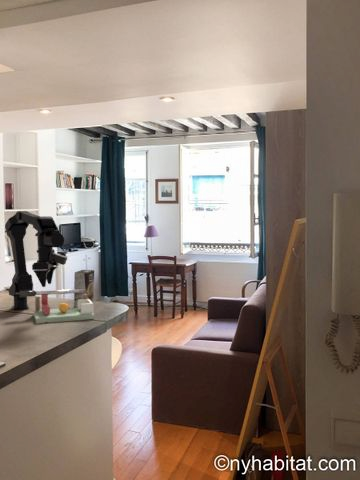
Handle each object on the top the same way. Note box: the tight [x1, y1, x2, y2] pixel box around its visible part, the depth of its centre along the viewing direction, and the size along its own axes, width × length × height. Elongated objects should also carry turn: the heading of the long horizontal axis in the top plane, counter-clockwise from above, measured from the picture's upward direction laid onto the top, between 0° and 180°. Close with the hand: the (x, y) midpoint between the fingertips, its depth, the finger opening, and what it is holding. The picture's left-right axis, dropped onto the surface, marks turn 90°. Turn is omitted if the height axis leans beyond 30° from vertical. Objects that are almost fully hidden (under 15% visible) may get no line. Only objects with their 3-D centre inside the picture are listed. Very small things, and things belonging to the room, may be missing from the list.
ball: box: [58, 302, 70, 312], centre depth 186 cm, size 4×4×4 cm
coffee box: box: [73, 269, 95, 308], centre depth 207 cm, size 9×6×16 cm
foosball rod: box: [20, 288, 83, 315], centre depth 186 cm, size 10×26×8 cm, turn 113°
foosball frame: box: [33, 294, 95, 324], centre depth 186 cm, size 13×23×8 cm, turn 113°
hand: (46, 285), depth 181 cm, fingers open, 9 cm apart
